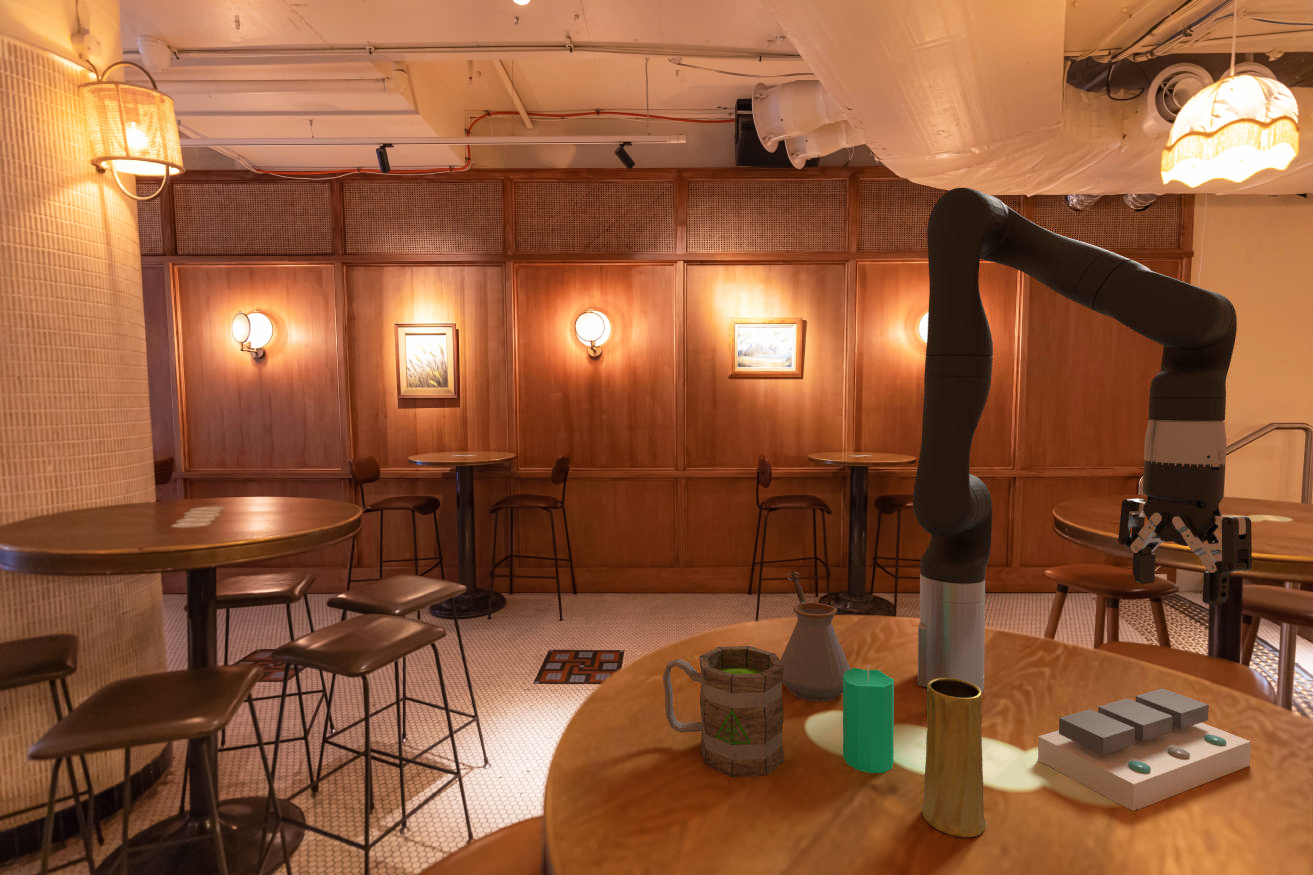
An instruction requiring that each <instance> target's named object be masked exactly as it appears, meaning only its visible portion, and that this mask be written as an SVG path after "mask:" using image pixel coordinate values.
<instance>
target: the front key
mask: <svg viewBox="0 0 1313 875" xmlns="http://www.w3.org/2000/svg"><path fill="white" fill-rule="evenodd" d="M1058 719H1059V720H1058V730H1059V734H1060V735H1062V736H1064V737H1066V738H1068V739H1070V740H1072V741H1075V742H1077V743H1079V744H1081V745H1083V746H1085V747H1087V748H1089V749H1091V750H1093V751H1095V752H1097V753H1099V754H1101V755H1105V754H1108V753H1111V752H1114V751H1117V750H1120V749H1123V748H1126V747H1129V746H1132V745H1135V728H1134V727H1131V726H1129V725H1127V724H1124V723H1122V722H1119V721H1117V720H1115V719H1112V718H1110V717H1108V716H1105V715H1103V714H1101V713H1098V711H1096V710H1093V709H1092V708H1088V709H1085V710H1082V711H1079V712H1074V713H1071V714H1068V715H1064V716H1061V717H1059V718H1058Z"/></svg>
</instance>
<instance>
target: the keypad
mask: <svg viewBox="0 0 1313 875" xmlns="http://www.w3.org/2000/svg"><path fill="white" fill-rule="evenodd" d="M1037 741H1038V743H1037V744H1038V745H1037V760H1038V761H1039V762H1041V763H1043V764H1044V765H1047V766H1049V767H1050V768H1052V769H1053V770H1055V771H1057V772H1060V773H1061V774H1063V775H1064V776H1067V777H1069V778H1071V779H1072V780H1074V781H1076V782H1078V783H1080V784H1082V785H1084V786H1085V787H1087V788H1089V789H1091V790H1093V791H1095V792H1097V793H1098V794H1100V795H1102V796H1104V797H1105V798H1108V799H1110V800H1111V801H1114V802H1115V803H1117V804H1118V805H1121V806H1122V805H1123V807H1124V806H1125V807H1124V808H1126V807H1127V808H1126V809H1128V808H1129V809H1128V810H1130V809H1131V810H1130V811H1132V810H1135V811H1137V810H1136V809H1138V810H1141V809H1143V808H1145V807H1148V806H1150V805H1153V804H1155V803H1156V804H1157V802H1160V801H1163V800H1166V799H1169V798H1171V797H1173V796H1177V795H1178V794H1182V793H1184V792H1186V791H1189V790H1191V789H1192V790H1193V789H1194V788H1197V787H1199V786H1202V785H1204V784H1206V783H1209V782H1212V781H1214V780H1217V779H1219V778H1222V777H1224V776H1227V775H1230V774H1231V773H1235V772H1237V771H1239V770H1243V769H1244V768H1247V767H1250V766H1251V745H1252V744H1251V742H1252V741H1251V740H1248V739H1246V738H1244V737H1240V736H1238V735H1235V734H1233V733H1229V732H1227V731H1226V730H1225V731H1224V730H1222V729H1220V728H1217V727H1214V726H1211V725H1209V724H1206V723H1204V722H1202V723H1199V724H1196V725H1193V726H1190V727H1187V728H1184V729H1179V728H1176V727H1174V726H1172V732H1171V733H1168V734H1165V735H1162V736H1159V737H1156V738H1153V739H1150V740H1147V741H1144V742H1142V741H1140V740H1137V739H1135V745H1132V746H1129V747H1126V748H1123V749H1120V750H1117V751H1114V752H1111V753H1108V754H1105V755H1101V754H1099V753H1097V752H1095V751H1093V750H1091V749H1089V748H1087V747H1085V746H1083V745H1081V744H1079V743H1077V742H1075V741H1072V740H1070V739H1068V738H1066V737H1064V736H1062V735H1060V734H1059V729H1058V730H1055V731H1051V732H1048V733H1046V734H1045V733H1044V734H1041V735H1038V740H1037Z"/></svg>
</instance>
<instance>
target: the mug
mask: <svg viewBox="0 0 1313 875" xmlns="http://www.w3.org/2000/svg"><path fill="white" fill-rule="evenodd" d="M698 658H699V665H700V672H698V671H697V670H696V669H694V667H693V666H692V665H691V664H690V662H688V661H686V660H684V659H682V658H681V657H679V658H676V659H673V660H670V661H668V662H667V663H666V666H665V668H664V672H663V674H662V679H663V680H662V681H663V688H664V689H663V690H664V706H665V717H666V719H667V722H668V724H669V726H670V728H671V729H673V730H675V731H676V732H679V733H680V734H681V733H690V732H692V733H693V732H701V737H700V745H699V747H700V752H701V756H702V761H703V765H705V766H707V767H709V768H711V769H713V770H716V771H717V772H720V773H721V774H725V775H726V776H729V777H731V778H743V777H762V776H763V777H765V776H768V775H769V774H771V772H773V771H774V770H775V769H777V768H778V767H779V766H780V765H781V764H782V763H784V762H785V757H784V748H783V726H784V717H785V716H784V714H785V713H784V704H783V683H782V676H783V668H784V666H783V664H782V663H781V661H780V660H781V659H780V658H779V657H778V655H777V654H776V653H775V652H773V651H768V650H765V649H760V648H757V647H754V646H751V645H740V646H739V645H738V646H737V645H735V646H732V645H731V646H717V647H714V648H713V649H711V650H709V651H706V652H705V653H702V654H700V655H699V656H698ZM675 667H678V668H679V669H681V670H683V671H684V673H685V674H686V675H687V676H688V677H689V678H690V680H692V681H694V682H698V683H700V694H699V696H700V697H699V707H700V715H701V716H700V717H701V721H694V722H693V721H692V722H686V723H682V722H680V721H678V720H677V718H676V715H675V713H674V703H673V702H674V701H673V700H674V699H673V696H674V694H673V686H672V680H671V679H672V678H671V672H672V668H675Z"/></svg>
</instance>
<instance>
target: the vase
mask: <svg viewBox="0 0 1313 875" xmlns="http://www.w3.org/2000/svg"><path fill="white" fill-rule="evenodd" d="M926 688H927V690H926V705H927V706H926V708H927V710H926V712H927V713H926V714H927V724H926V725H927V726H926V738H925V739H926V740H925V741H926V743H925V744H926V746H925V749H926V750H925V766H924V782H923V802H922V806H921V808H922V809H921V811H922V816H923V818H924V820H925V821H926V822H927V823H928V824H929V825H930V826H931V827H933V828H934V829H936V830H938V831H939V832H941V833H944V834H946V835H949V836H954V837H959V838H973V837H977V836H979V835H982V833H983V832H984V831H985V829H986V819H985V815H984V814H985V813H984V812H985V811H984V810H985V809H984V806H985V805H984V774H983V771H984V770H983V769H984V768H983V765H984V764H983V762H984V761H983V736H982V735H983V734H982V732H983V731H982V730H983V729H982V721H983V716H982V715H983V714H982V700H983V692H981V690H980V688H979V687H977V686H976V685H974V684H972V683H970V682H967V681H964V680H960V679H955V678H935V679H932V680H930V681H929V682H928V684H927V687H926Z"/></svg>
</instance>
